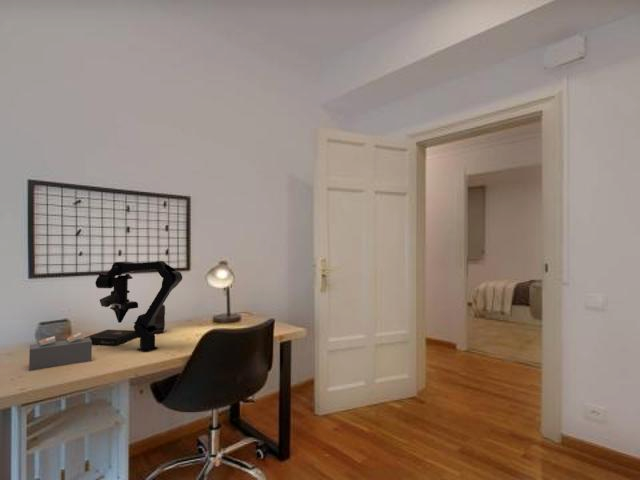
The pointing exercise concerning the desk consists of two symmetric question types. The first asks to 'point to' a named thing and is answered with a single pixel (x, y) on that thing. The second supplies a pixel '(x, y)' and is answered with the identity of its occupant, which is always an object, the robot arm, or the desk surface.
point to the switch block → (60, 353)
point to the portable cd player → (112, 337)
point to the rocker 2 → (74, 337)
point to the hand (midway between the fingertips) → (119, 322)
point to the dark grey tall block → (160, 320)
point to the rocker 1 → (47, 340)
